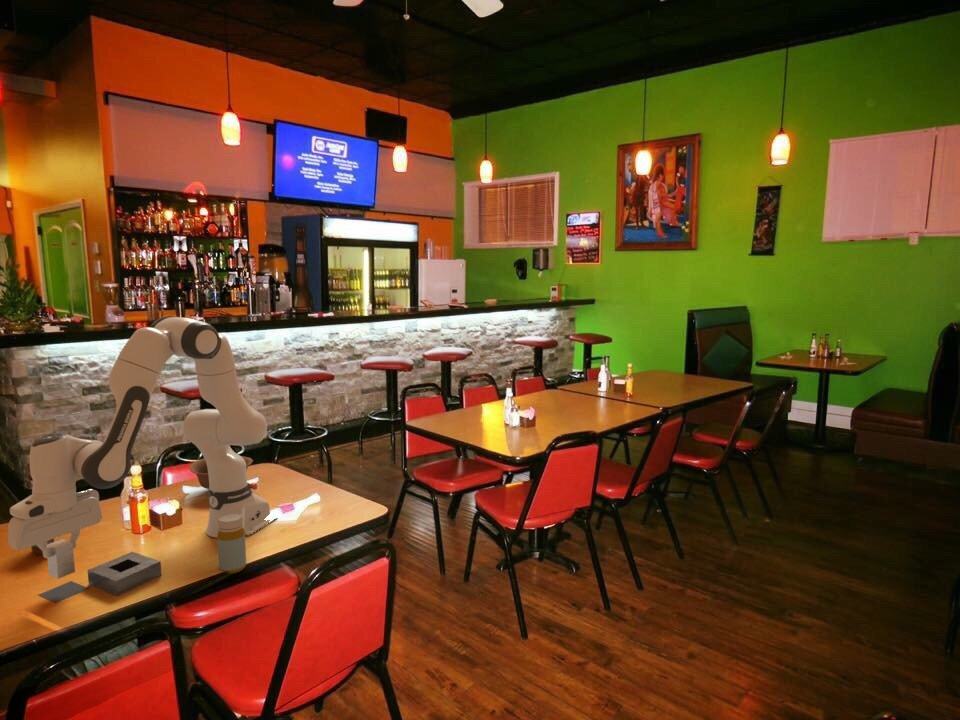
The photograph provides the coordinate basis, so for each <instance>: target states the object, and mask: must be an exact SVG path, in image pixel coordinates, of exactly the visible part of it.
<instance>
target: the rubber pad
mask: <svg viewBox="0 0 960 720" xmlns="http://www.w3.org/2000/svg"><path fill="white" fill-rule="evenodd" d="M89 589H90V588H89V587H87V586H84V585H82V584H80V583H77V582H74V581H73V580H70V581H68V582H65V583H63V584H61V585H58V586H56V587H54V588H51V589H49V590H46V591H44V592H41V593H39V594H37V596H38V597H40V598H43V599H45V600H47V601H49V602H52V603H53V604H57V603H60V602H62V601H64V600H66V599H69V598H72V597H73V596H75V595H78V594H81V593H82V592H85V591H87V590H89Z"/></svg>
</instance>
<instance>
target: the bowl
mask: <svg viewBox="0 0 960 720" xmlns="http://www.w3.org/2000/svg"><path fill="white" fill-rule="evenodd" d="M240 456H241V455H240ZM241 457H242V458H243V459H244V460H245V462H246V473H247V472H248V467H249V466H251V465H252V464H253V462H254V460H253V459H252V458H251V457H249V456H248V457H247V456H241ZM188 468H189V470H190V472H192V473H193V474H195V475H196V477H197V479H198V482H199V485H200V486H201V487H202V488H204V489H205V490H208V489H209V476H208V468H207V464H206V461H205V459H204V458H201V459H198V460H196V461H193V462H192V463H191V464H190V465H189V467H188Z"/></svg>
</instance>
